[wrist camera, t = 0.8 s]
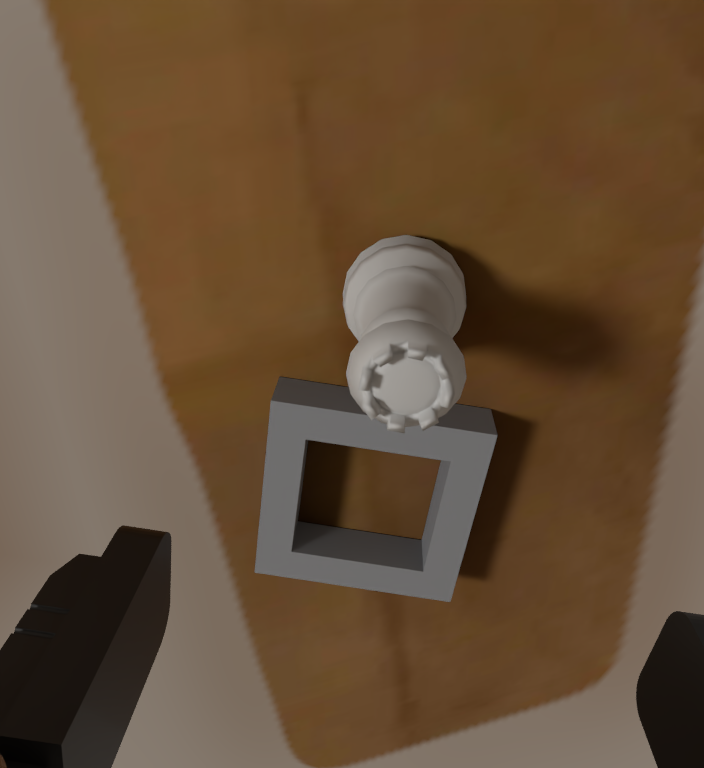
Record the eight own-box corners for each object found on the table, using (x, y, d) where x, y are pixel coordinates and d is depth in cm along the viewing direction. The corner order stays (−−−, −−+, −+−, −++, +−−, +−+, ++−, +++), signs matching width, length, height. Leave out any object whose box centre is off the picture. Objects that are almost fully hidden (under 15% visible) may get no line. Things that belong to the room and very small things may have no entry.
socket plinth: (279, 376, 26) (270, 400, 24) (490, 409, 26) (497, 435, 24) (263, 541, 30) (254, 572, 28) (447, 569, 30) (450, 602, 28)
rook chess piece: (432, 364, 25) (445, 486, 18) (325, 320, 25) (296, 428, 18) (487, 261, 24) (525, 352, 16) (372, 211, 23) (360, 283, 16)
